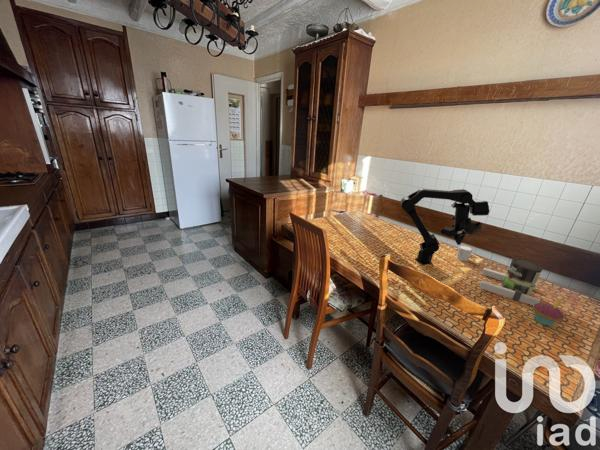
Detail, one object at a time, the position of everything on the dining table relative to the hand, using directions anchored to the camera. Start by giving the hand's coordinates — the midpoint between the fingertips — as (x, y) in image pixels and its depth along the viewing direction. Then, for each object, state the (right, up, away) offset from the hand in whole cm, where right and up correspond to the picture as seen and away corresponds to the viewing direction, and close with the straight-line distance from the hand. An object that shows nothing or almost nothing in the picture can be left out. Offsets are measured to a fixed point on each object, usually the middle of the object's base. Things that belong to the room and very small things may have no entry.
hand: (458, 244), depth 125 cm
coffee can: (+16, -20, -14) cm, 30 cm away
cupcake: (+11, -27, -32) cm, 44 cm away
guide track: (+14, -19, -13) cm, 27 cm away
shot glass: (+11, -9, +13) cm, 19 cm away
